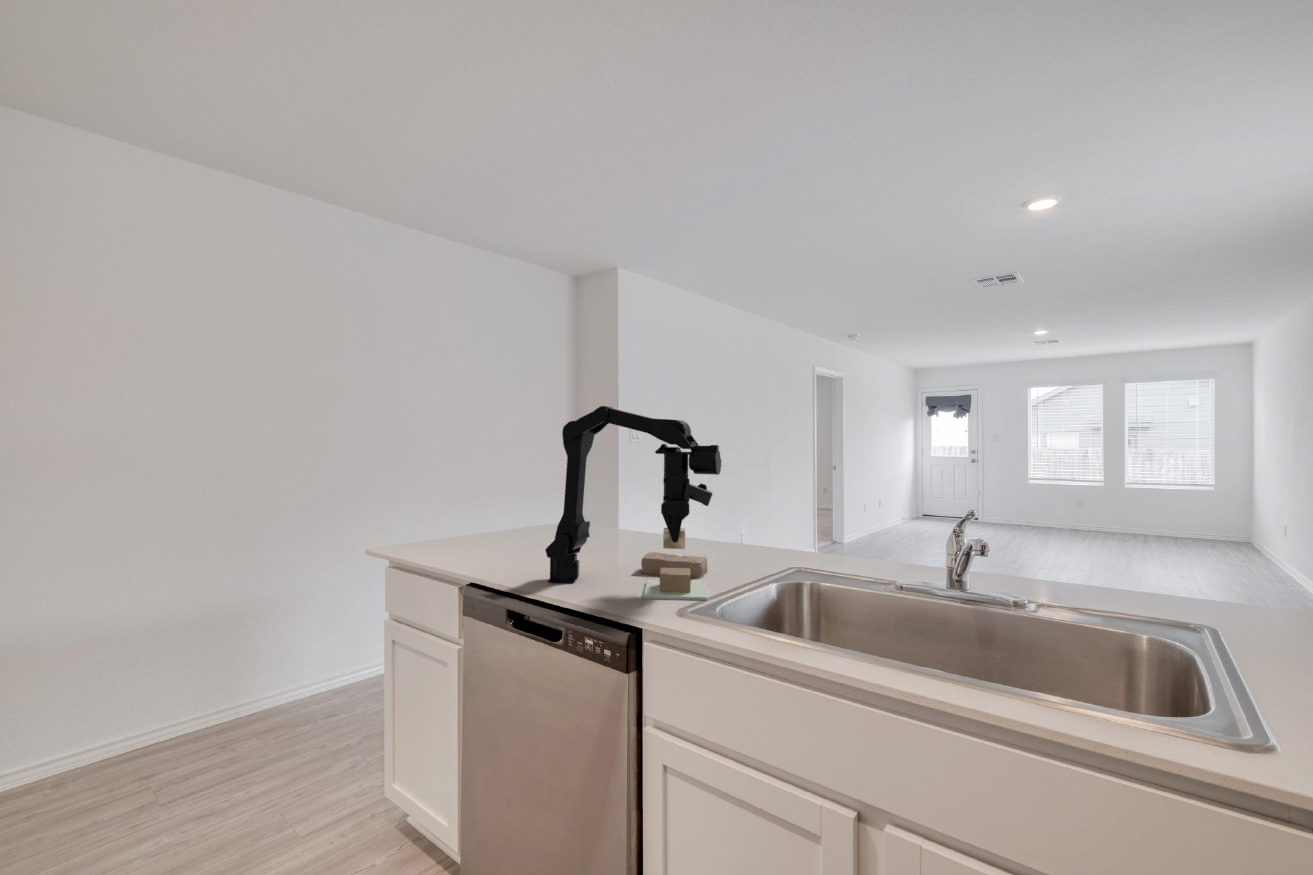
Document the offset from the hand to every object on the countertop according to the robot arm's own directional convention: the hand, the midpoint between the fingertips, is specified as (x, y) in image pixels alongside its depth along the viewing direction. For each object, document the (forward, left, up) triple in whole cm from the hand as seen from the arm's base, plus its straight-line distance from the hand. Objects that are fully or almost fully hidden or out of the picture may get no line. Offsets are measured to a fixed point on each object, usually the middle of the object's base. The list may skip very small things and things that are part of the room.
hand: (675, 540), depth 135 cm
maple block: (0, 0, -2) cm, 2 cm away
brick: (0, +19, -12) cm, 23 cm away
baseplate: (0, 0, -12) cm, 12 cm away
